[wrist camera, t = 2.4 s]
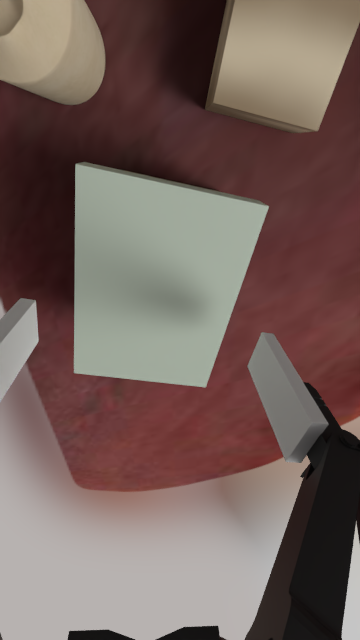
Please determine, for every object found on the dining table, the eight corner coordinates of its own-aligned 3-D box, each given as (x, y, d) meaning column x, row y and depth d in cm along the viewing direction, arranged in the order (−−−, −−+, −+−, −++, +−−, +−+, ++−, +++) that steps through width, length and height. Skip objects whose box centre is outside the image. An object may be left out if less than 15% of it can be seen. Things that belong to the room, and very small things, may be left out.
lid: (84, 161, 16) (75, 164, 15) (259, 200, 18) (269, 206, 16) (80, 356, 24) (74, 372, 22) (202, 371, 26) (205, 387, 24)
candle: (93, -15, 17) (23, -177, 8) (115, 100, 20) (79, 67, 11) (3, -3, 17) (-157, -151, 8) (38, 110, 20) (-55, 85, 11)
